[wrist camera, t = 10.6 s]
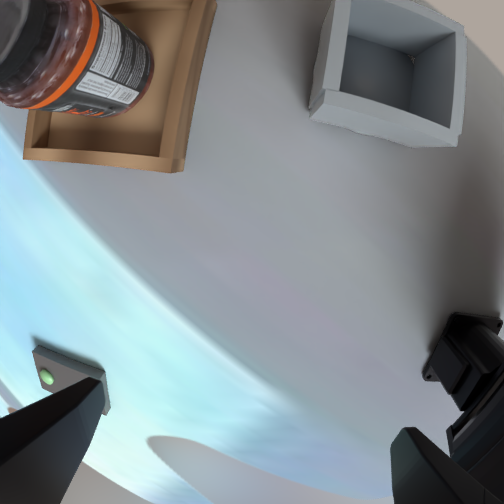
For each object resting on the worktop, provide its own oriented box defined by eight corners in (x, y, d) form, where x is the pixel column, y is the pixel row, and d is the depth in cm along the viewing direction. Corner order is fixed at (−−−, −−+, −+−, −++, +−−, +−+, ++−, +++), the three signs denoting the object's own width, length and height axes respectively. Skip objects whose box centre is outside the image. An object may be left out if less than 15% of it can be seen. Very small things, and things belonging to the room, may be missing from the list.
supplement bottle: (69, 112, 17) (-62, 102, 6) (98, 34, 15) (-13, -22, 4) (139, 128, 17) (4, 112, 6) (171, 42, 15) (75, -49, 5)
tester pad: (105, 371, 24) (97, 382, 22) (110, 407, 25) (104, 418, 24) (38, 345, 24) (29, 353, 22) (47, 381, 25) (40, 390, 24)
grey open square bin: (421, 54, 15) (466, 26, 9) (409, 149, 17) (460, 149, 11) (320, 22, 15) (337, -24, 9) (304, 120, 17) (318, 103, 11)
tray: (217, 4, 15) (210, -13, 13) (183, 171, 18) (170, 173, 16) (73, 16, 15) (56, 6, 13) (44, 157, 19) (22, 159, 16)
